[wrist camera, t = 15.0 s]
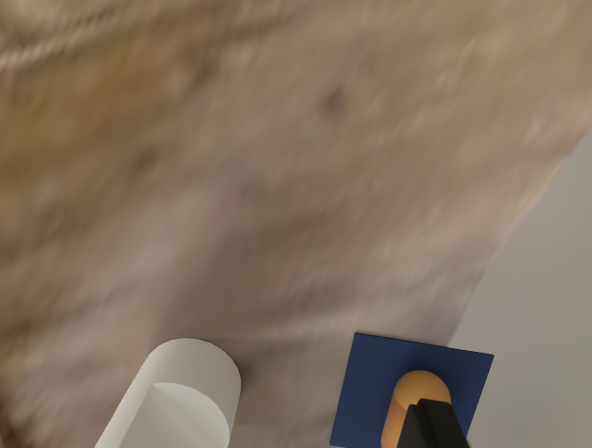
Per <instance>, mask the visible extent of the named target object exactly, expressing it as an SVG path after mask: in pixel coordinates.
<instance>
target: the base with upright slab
mask: <svg viewBox="0 0 592 448" xmlns="http://www.w3.org/2000/svg"><path fill="white" fill-rule="evenodd" d="M240 393H241V378H240V374H239V371H238V368H237V366H236V365H235V363H234V362H233V360H232V358H230V357H229V356H228V355H227V354H226V353H225V352H224V351H223V350H222V349H220V348H218V347H217V346H215V345H213V344H212V343H209V342H206V341H203V340H199V339H191V338H181V339H175V340H170V341H168V342H166V343H163V344H161V345H159V346H158V347H157V348H156V349H154V350H153V351H152V352H151V353H150V354H149V356H148V357H147V359H146V360H145V362H144V364H143V365H142V367H141V369H140V370H139V372H138V374H137V375H136V377H135V379H134V381H133V382H132V384H131V386H130V387H129V389H128V391H127V392H126V394H125V396H124V397H123V399H122V401H121V403H120V404H119V406H118V408H117V409H116V412H115V414H114V415H113V417H112V419H111V420H110V422H109V424H108V425H107V427H106V429H105V431H104V432H103V434H102V436H101V437H100V439H99V441H98V442H97V444H96V446H95V447H94V448H227V447H228V444H229V441H230V436H231V432H232V427H233V423H234V419H235V414H236V410H237V406H238V401H239V397H240Z"/></svg>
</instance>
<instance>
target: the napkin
mask: <svg viewBox="0 0 592 448" xmlns="http://www.w3.org/2000/svg"><path fill="white" fill-rule="evenodd" d="M493 358H494V355H492V354H485V353H479V352H473V351H467V350H460V349H454V348H448V347H442V346H435V345H429V344H423V343H417V342H410V341H404V340H398V339H391V338H385V337H379V336H373V335H366V334H360V333H355V335H354V339H353V344H352V348H351V352H350V357H349V361H348V365H347V370H346V374H345V379H344V383H343V387H342V392H341V396H340V400H339V405H338V409H337V413H336V418H335V422H334V427H333V431H332V435H331V440H330V445H332V446H339V447H345V448H381V436H382V432H383V429H384V425H385V421H386V418H387V414H388V410H389V406H390V403H391V399H392V395H393V392H394V388H395V386H396V384H397V382H398V381H399V379H400V378H401V377H402V376H403V375H405V374H406V373H408V372H411V371H414V370H424V371H428V372H431V373H433V374H435V375H436V376H438V377H439V378H440V379H441V380H442V381H443V382H444V383H445V385H446V386H447V388H448V390H449V393H450V397H451V406H452V408H453V410H454V412H455V415H456V417H457V420H458V422H459V424H460V427H461V429H462V432H463V434H464V436H465V439H466V436H467V433H468V430H469V428H470V424H471V422H472V419H473V416H474V413H475V410H476V407H477V404H478V402H479V399H480V396H481V393H482V390H483V387H484V384H485V381H486V378H487V376H488V373H489V370H490V367H491V364H492V361H493Z"/></svg>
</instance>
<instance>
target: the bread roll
mask: <svg viewBox="0 0 592 448" xmlns="http://www.w3.org/2000/svg"><path fill="white" fill-rule="evenodd" d="M421 398H425V399H432V400H438V401H444V402H448V403H450V404H451V397H450V393H449V390H448V388H447V386H446V385H445V383H444V382H443V381H442V380H441V379H440V378H439V377H438V376H436V375H435V374H433V373H431V372H428V371H424V370H414V371H411V372H408V373H406V374H405V375H403V376H402V377H401V378H400V379H399V381H398V382H397V384H396V386H395V388H394V392H393V395H392V399H391V403H390V406H389V410H388V414H387V418H386V421H385V425H384V429H383V432H382V436H381V448H396V447H397V444H398V440H399V437H400V433H401V430H402V426H403V423H404V419H405V416H406V413H407V409H408V407H409V405H410V404H415V405H417V403H418V401H419V399H421Z"/></svg>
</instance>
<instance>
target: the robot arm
mask: <svg viewBox="0 0 592 448" xmlns="http://www.w3.org/2000/svg"><path fill="white" fill-rule="evenodd" d="M396 448H469V446H468V443H467V441H466V439H465V436H464V434H463V432H462V429H461V427H460V424H459V422H458V420H457V417H456V415H455V412H454V410H453V408H452V406H451V404H450V403H448V402H444V401H438V400H432V399H425V398H421V399H419V401H418V403H417V405H415V404H410V405H409V407H408V409H407V413H406V416H405V419H404V423H403V426H402V430H401V433H400V437H399V440H398V444H397V447H396Z"/></svg>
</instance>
